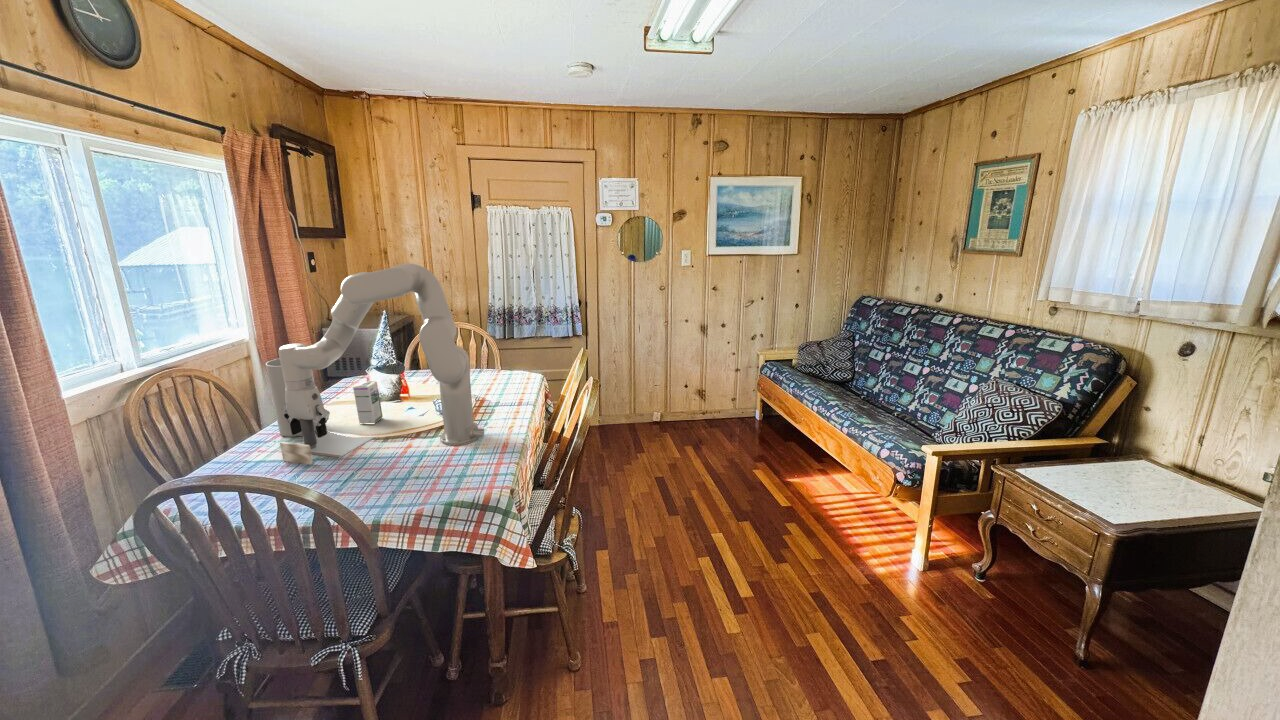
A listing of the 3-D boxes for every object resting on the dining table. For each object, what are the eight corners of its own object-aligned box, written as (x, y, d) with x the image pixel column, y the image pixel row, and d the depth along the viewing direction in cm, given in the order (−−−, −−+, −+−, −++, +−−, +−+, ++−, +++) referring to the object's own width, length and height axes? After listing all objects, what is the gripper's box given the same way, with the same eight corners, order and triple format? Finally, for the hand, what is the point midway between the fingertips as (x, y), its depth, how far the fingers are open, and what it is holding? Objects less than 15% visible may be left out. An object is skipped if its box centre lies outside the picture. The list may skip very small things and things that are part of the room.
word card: (313, 463, 154) (309, 444, 153) (310, 464, 154) (307, 446, 152) (286, 459, 157) (282, 441, 155) (283, 460, 156) (279, 442, 154)
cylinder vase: (288, 440, 169) (273, 368, 163) (274, 431, 177) (259, 361, 170) (329, 428, 179) (316, 360, 172) (313, 420, 186) (301, 354, 179)
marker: (320, 445, 165) (314, 411, 162) (311, 450, 162) (305, 415, 159) (311, 444, 166) (304, 410, 163) (302, 449, 163) (295, 414, 160)
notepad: (375, 437, 173) (375, 436, 172) (339, 458, 158) (338, 457, 158) (325, 431, 177) (325, 430, 177) (285, 451, 162) (285, 450, 162)
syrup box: (375, 424, 182) (369, 386, 178) (358, 424, 183) (352, 386, 179) (383, 418, 188) (377, 381, 184) (367, 418, 188) (361, 381, 184)
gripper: (332, 381, 160) (341, 432, 165) (287, 378, 164) (297, 427, 168) (313, 389, 153) (323, 442, 158) (265, 385, 157) (277, 436, 161)
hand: (309, 434), depth 163 cm, fingers open, 9 cm apart
